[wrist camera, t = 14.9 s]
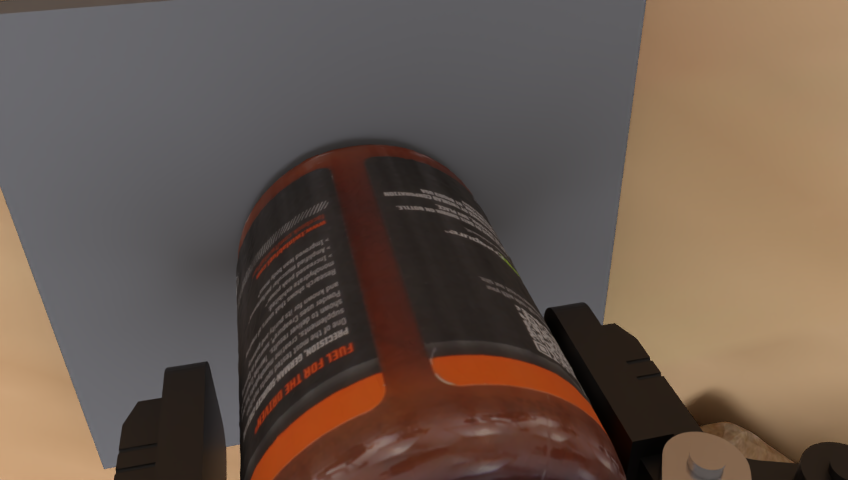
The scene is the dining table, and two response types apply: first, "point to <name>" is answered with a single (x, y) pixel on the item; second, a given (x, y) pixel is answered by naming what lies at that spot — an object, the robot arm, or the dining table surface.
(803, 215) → the dining table surface
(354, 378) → the supplement bottle
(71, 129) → the mat
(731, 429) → the stone cup
